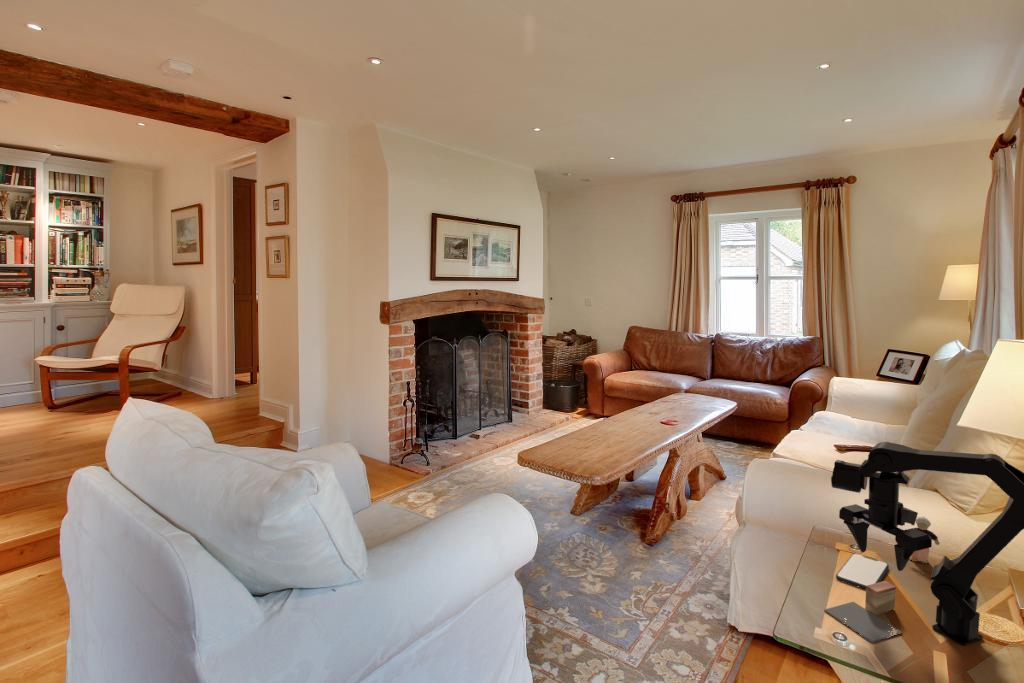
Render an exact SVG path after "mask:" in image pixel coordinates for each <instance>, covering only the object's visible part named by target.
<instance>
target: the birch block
mask: <svg viewBox="0 0 1024 683" xmlns="http://www.w3.org/2000/svg"><path fill="white" fill-rule="evenodd" d="M896 589H897V586H895V585H893V584H892V583H890V582H888V581H886V580H884V581H883V580H881V582H879V583H875V584H871V585H867V586H866V590H865V607H864V609H866V610H868V611H869V612H871V613H873V614H874V615H876V616H879V615H883V614H886V613H888V612H887V611H890V610H892V609H895V608H896V605H895V604H896ZM885 612H886V613H885ZM890 612H891V611H890ZM882 613H883V614H882Z"/></svg>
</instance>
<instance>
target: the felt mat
mask: <svg viewBox="0 0 1024 683" xmlns="http://www.w3.org/2000/svg"><path fill="white" fill-rule="evenodd" d="M823 611H824V612H825V613H827V614H828V615H829V616H831V617H832V616H833V617H832V618H834V617H835V618H837V619H838V620H839V621H838V620H837V619H836V620H837V621H838V622H840V621H841V622H843V623H845V624H846V625H848V626H849V627H850V628H851V629H850V628H849V627H848V628H849V629H850V630H852V629H853V630H855V631H856V632H858V633H859V634H861V635H862V636H863V637H864V638H863V637H862V636H861V637H862V638H863V639H865V638H866V639H867V640H866V639H865V640H866V641H868V642H869V641H870V643H871V644H874V643H877V642H879V641H883V640H882V639H884V640H886V639H885V638H887V637H889V636H891V635H890V633H891V631H893V630H892V629H893V628H894V627H895V626H894V627H893V628H891V627H892V626H893V625H892V624H890V623H889V622H887V621H885V620H883V619H882V618H881V617H879V616H878V615H874V614H873V613H871V612H869V611H868V610H866V609H865V607H863V606H861V605H860V604H858V603H856V602H855V601H851V602H847V603H844V604H843V603H842V604H840V605H836V606H833V607H828V608H825V609H824V610H823ZM835 618H834V619H835ZM844 618H846V619H847V620H845V619H844ZM845 621H846V622H845ZM841 622H840V623H841ZM843 623H842V624H843ZM888 624H889V625H888ZM846 625H845V626H846ZM890 625H891V626H890ZM853 630H852V631H853ZM895 630H899V631H897V633H896V634H899V633H900V635H902V634H903V631H901V630H900V629H898V628H897V629H895ZM855 631H854V632H855ZM888 631H890V632H888ZM856 632H855V633H856ZM901 633H902V634H901ZM859 634H858V635H859ZM892 635H893V632H892ZM887 639H888V638H887Z"/></svg>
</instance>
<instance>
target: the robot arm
mask: <svg viewBox="0 0 1024 683" xmlns="http://www.w3.org/2000/svg"><path fill="white" fill-rule="evenodd" d="M833 466H834V467H833V470H832V475H831V478H830V482H831V483H830V484H831V488H832V489H837V490H843V491H846V492H847V491H849V492H852V493H853V492H854V493H858V494H860V493H861V492H862V490H867V486H868V498H865V499H864V501H863V502H864V504H865V505H867V506H868V508H867V507H863V506H861V505H859V504H856V503H855V504H851V505H850V504H849V505H846V506H842V507H841V508H840V509H839V510H838V511H839V512H838V513H839V515H838V518H839V519H840V520H843V524H845V525H846V526H847V528H848V530H849V532H850V533H851V535H852V536H853V538H854V540H855V543H856V544H857V546H858V548H859V550H860V552H861V553H865V552H866V551H867V546H868V545H867V544H868V529H869V527H870V526H873V527H874V528H876V529H878V530H881V531H883V532H886V533H888V534H890V535H892V536H894V537H895V538H894V541H895V542H896V544H894V545H893V548H894V554H895V561H896V562H895V563H896V567H897V570H898V571H899V572H902V571H903V570H904V569H905V567H906V566H907V564H908V562H909V561H910V560H909V558H910V557H911V555H912V554H913V553H914V551H918V550H922V549H926V548H929V549H930V548H932V546H933V545H932V542H933V540H932V539H931V537H930V536H929V535H928V534H926V533H924V532H921V531H919V530H916V529H914V528H915V527H912V528H907V529H901V528H899V527H898V526H901V527H903V526H905V525H906V523H907V524H910V525H911V526H915V524H916V519H917V518H918V514H919V512H917V511H916V510H911V509H910V508H907V507H905V506H904V504H903V503H902V502H900V500H899V496H900V495H899V494H900V492H899V490H900V484H901V485H908V484H909V482H910V481H911V480H910V479H911V478H910V477H909V476H908V475H907V474H906V473H904V472H909V471H916V470H918V471H920V470H921V471H930V472H940V473H941V472H943V473H955V474H962V475H963V474H965V475H966V474H967V475H974V476H975V475H977V476H985V477H987V478H988V479H990V480H992V481H993V483H994V484H996V485H997V487H999V489H1001V490H1002V491H1003V492H1004V493H1005V494H1006V495H1007V496H1008V497H1009V498H1008V499H1007V502H1006V504H1005V506H1004V508H1003V510H1002V512H1001V513H1000V514H999V515H997V517H996V518H995V519H994V520H993V521H992V522H991V523H990V524H989V525H988V526H987V528H985V529H984V530H983V531H982V532H981V534H979V536H977V538H976V539H975V540H973V541H972V543H971V544H970V545H969V546H968V547H967V548H966V549H965V550H964V551H963V552H962V553H961V554H960V555H959V556H958V557H955V558H954V559H950V558H949V557H948V556H946V555H944V556H943V557H942V559H941V561H940V562H939V563H938V564H936V565H934V566H933V567H932V571H931V575H930V580H931V582H930V591H931V593H932V594H933V596H934V597H935V598H936V599H937V600H938V604H937V605H936V608H935V609H936V611H935V622H936V623H935V624H932V625H931V627H932V629H934V630H936V631H937V632H939V633H940V634H942V635H944V636H946V637H948V638H949V639H951V640H953V641H954V642H956V643H958V644H960V645H962V646H966V645H969V644H973V643H975V642H978V641H981V640H984V636H983V635H982V634H980V633H979V629H980V613H979V612H977V608H978V601H979V600H978V599H979V595H978V594H977V592H975V590H974V589H973V588H972V585H973V584H974V582H975V580H976V577H977V575H979V573H980V572H981V571H983V569H985V568H986V567H987V565H988V564H989V563H990V562H992V560H993V559H994V558H996V557H997V556H998V555H999V553H1000V552H1001V551H1003V549H1005V547H1006V546H1008V545H1009V543H1011V542H1012V540H1014V538H1016V537H1017V536H1018V535H1019V534H1020V533H1021V532H1022V531H1023V530H1024V471H1022V470H1020V469H1018V467H1015V466H1014V465H1012V464H1010V463H1008V462H1007V461H1006V460H1004V459H1003V457H1001V456H1000V455H997V454H994V453H985V454H984V453H967V452H953V451H942V450H941V451H939V450H926V449H925V450H924V449H917V448H912V447H909V446H908V445H907V446H906V445H905V444H899V443H895V442H889V441H881V442H878V443H876V444H874V446H873V447H872V449H871V450H870V451H869V453H868V456H867V459H865V460H863V462H862V463H861V464H858V463H853V462H847V461H844V460H840V459H836V460H835V462H834V465H833Z"/></svg>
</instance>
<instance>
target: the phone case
mask: <svg viewBox="0 0 1024 683" xmlns="http://www.w3.org/2000/svg"><path fill="white" fill-rule="evenodd" d="M889 568H890V565H889V563H888V562H885V561H882V560H879V559H875V558H872V557H868V556H865V555H862V554H858V553H852V554H851V555H850V556H849V558H848V559H847V560H846V562H845V563H844V564H843V565H842V566H841V567H840V569H839V570H838V571H837V573H836V575H835V578H837V579H838V580H837V579H836V580H837V581H839V580H840V582H842V581H844V582H843V583H845V582H846V584H848V583H849V584H848V585H851V584H852V585H851V586H853V585H855V586H854V587H856V586H859V587H861V588H860V589H862V588H864V589H863V590H865V589H866V586H867V585H871V584H875V583H879V582H882V581H883V579H884V578H885V576H886V574H887V573H888V571H889ZM859 587H858V588H859Z"/></svg>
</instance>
